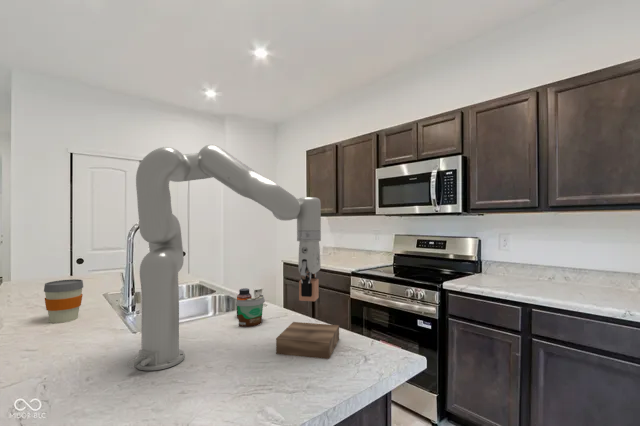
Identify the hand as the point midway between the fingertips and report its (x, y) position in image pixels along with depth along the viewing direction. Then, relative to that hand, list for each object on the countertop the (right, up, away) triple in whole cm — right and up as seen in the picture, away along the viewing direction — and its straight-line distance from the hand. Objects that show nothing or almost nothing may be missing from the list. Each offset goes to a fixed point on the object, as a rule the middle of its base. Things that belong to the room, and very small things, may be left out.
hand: (309, 293), depth 104 cm
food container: (-22, -17, +21) cm, 35 cm away
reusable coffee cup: (-99, -18, +28) cm, 104 cm away
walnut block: (0, -17, 0) cm, 17 cm away
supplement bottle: (-28, -17, +31) cm, 45 cm away
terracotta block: (0, -2, 0) cm, 2 cm away
